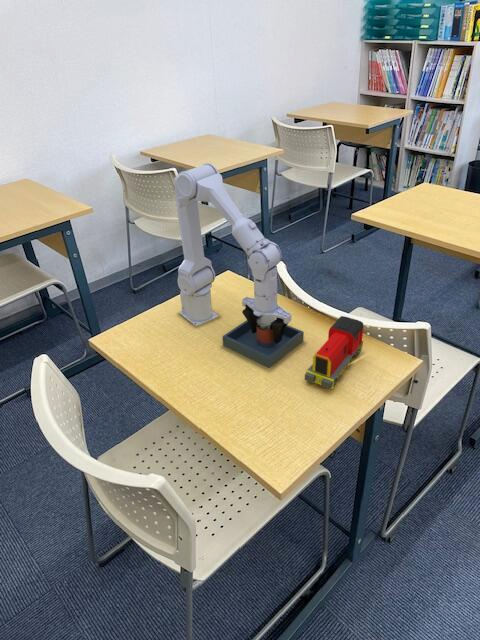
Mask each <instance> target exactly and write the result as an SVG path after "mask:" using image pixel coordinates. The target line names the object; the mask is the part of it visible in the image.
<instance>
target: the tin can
mask: <svg viewBox="0 0 480 640" xmlns="http://www.w3.org/2000/svg"><path fill="white" fill-rule="evenodd" d="M275 320H276V318H275V317H270V316H264V315H263V316H260V317H258V318H257V344H258V345H259V346H260V347H263V348H270V347H273V346H274V345H275V344H276V343H275V342H274V332H273V328H272V326H271V323H272V322H273V321H275Z"/></svg>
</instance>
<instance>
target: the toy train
mask: <svg viewBox="0 0 480 640" xmlns="http://www.w3.org/2000/svg"><path fill="white" fill-rule="evenodd" d="M363 335H364V322H363V321H361V320H359V319H357V318H356V319H355V318H352V317H348V316H344V315H341V316H339V318H338V319H337V320H336V321H335V322H334V323H333V324H332V325H331V326H330V328H329V329H328V337H327V340H326V341H325V342H324V344H323V345H322V346H321V347H320V348H319V349H318V351H316V353H315V354H314V355H313V356H312V364H311V365H310V367H308V369H307V370H306V371H305V374H304V381H307V382H308V383H312V384H317V385H319V386H321V387H323V388H325V389H328V390H333V389H334V388H335V387H336V385H337V379H339V378H340V377H341V375H342V373H344V371H345V370H346V368H347V367H348V365H349V364H350V363H351V360H352V359H353V357H355V358H358V356H359V355H360V352H362V351H363V347H364V340H363Z"/></svg>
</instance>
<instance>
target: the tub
mask: <svg viewBox="0 0 480 640" xmlns="http://www.w3.org/2000/svg"><path fill="white" fill-rule="evenodd" d="M261 316H263V315H261ZM304 333H305V332H304V331H303V330H301V329H298V328H295V327H294V326H291V325H289V324H288V325H287V326H286V328H285V330H284V333H283V336H282V340H281V341H280V342H279V343H277V344H275V345H274V346H273V347H270V348H263V347H260V346H259V345H258V344H257V332H256V333H252V331H251V328H250V325H249V323H248V321H247V319H246V320H245V321H243V322H242V323H239V324H238V325H237V326H235V327H234V328H233V329H231V330H229V331H227V332H226V333H225V334H223V335H222V346H223V347H224V348H226V349H229V350H231V351H233V352H234V353H238V354H239V355H241V356H243V357H245V358H247V359H249V360H252V361H254V362H255V363H257V364H260V365H261V366H263V367H266V368H267V369H270V368H272V367H274V366H275V364H277V363H278V362H279V361H280V360H282V359H283V358H284V357H286V356H287V355H288V354H289V353H291V352H292V351H293V350H295V349H296V348H297V347H298V346H300V344H303V343H304V335H305V334H304Z"/></svg>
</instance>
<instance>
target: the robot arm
mask: <svg viewBox="0 0 480 640" xmlns="http://www.w3.org/2000/svg"><path fill="white" fill-rule="evenodd" d="M173 184H174V190H175V191H174V192H175V193H174V198H175V205H176V211H177V219H178V225H179V226H178V227H179V232H180V238H181V246H182V253H183V258H184V259H183V261H182V263H181V264H180V266H179V267H178V269H177V273H178V275H177V287H178V288H179V290H180V293H179V296H180V297H179V298H180V304H181V305H180V306H181V311H179V315H181V316H182V317H183V318H184V319H186V320H187V321H188V322H190V323H191V324H192V325H194V326H199V325H201V324H204V323H206V322H208V321H210V320H213V319H216V318H218V317H219V314H218V313H216V312H215V311H213V303H212V292H211V289H212V287H213V283H214V282H215V280H216V273H215V270H214V267H213V266H212V260H210V259H209V258H207V257H206V256H205V251H204V244H203V243H204V242H203V235H202V227H201V220H200V219H201V218H200V213H199V212H200V211H199V204H198V202H204V203H205V202H206V203H211V204H212V206H213V207H214V208H215V209H216V210H217V211H218V212H219V213H220V215H221V216H222V217H223V218H224V219H225V220H226V221H227V222H228V224H229V225H231V226H230V227H231V235H232V236H233V238H234V239H235V240H236V242H237V243H238V244H239V247H241V248H242V250H243V251H244V252H245V254H246V255H247V256H248V257H249V258H248V259H247V264H248V266H249V268H250V271H251V276H252V277H253V292H254V293H253V297H254V298H253V297H249V296H245V297H244V298H242V299H241V306H242V307H244V309H242V313H241V314H242V315H243V316H244V317H245V319H246V320H247V321H248V323H249V325H250V328H251V331H252V333H256V332H257V318H258V317H260V316H261V315H264V316H270V317H274V318H275V319H276V320H275V321H273V322H272V323H271V326H272V328H273V332H274V342H275V343H276V344H277V343H279V342H280V341H281V340H282V336H283V333H284V330H285V328H286V326H287V325H289V323H290V322H291V321H292V313H290V312H288V311H287V310H285V309H284V308H283V307H281V306H280V305H279V303H278V264H279V263H281V261H282V258H283V254H282V251H281V249H280V246H279V245H278V244H277V243H275V242H274V241H271V240H270V239H269V238H266V237H265V236H264V235H263V233H262V232H261V231H260V229H259V228H258V226H257V224H256V223H255V222H254V221H253V220H252V219H251V218H247V217H244V216H243V215H242V212H241V211H240V210H239V208H238V206H237V205H236V204H235V202H234V200H233V199H232V197H231V196H230V194H229V193H228V192H227V190H226V188H225V186H224V183H223V176H222V174H220V173H219V171H218V169H217V167H216V166H215V165H214V164H212V163H210V162H205V163H203V164H201V165H199V166H196V167H194V168H191V169H187V170H185V171H180V172H178V174H177V175H176V176H175V177H174V178H173Z"/></svg>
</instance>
